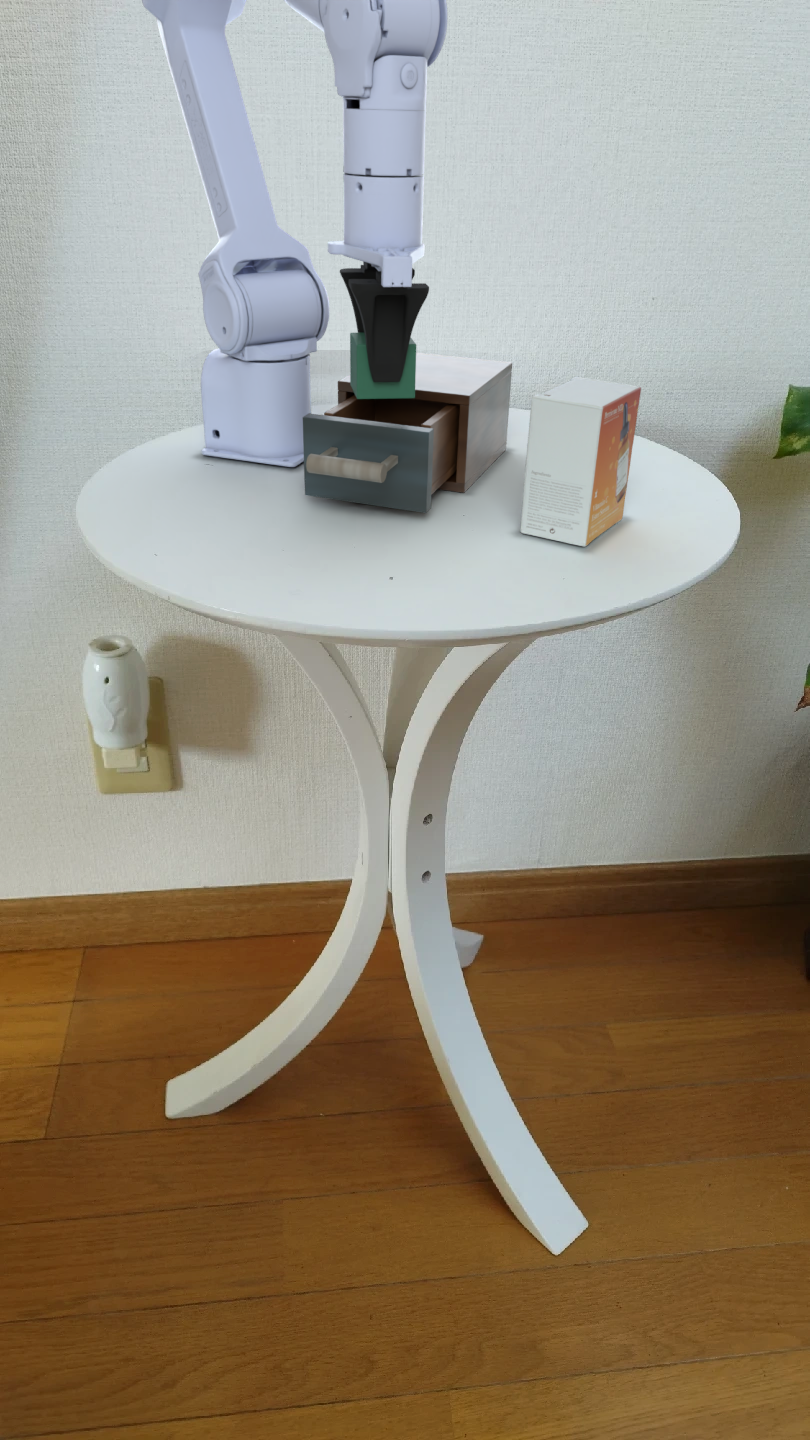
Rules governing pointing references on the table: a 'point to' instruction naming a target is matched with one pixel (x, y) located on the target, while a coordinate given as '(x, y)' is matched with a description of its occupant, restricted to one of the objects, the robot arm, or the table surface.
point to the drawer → (381, 451)
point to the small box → (578, 459)
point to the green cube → (363, 378)
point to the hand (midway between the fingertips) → (381, 373)
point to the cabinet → (464, 407)
